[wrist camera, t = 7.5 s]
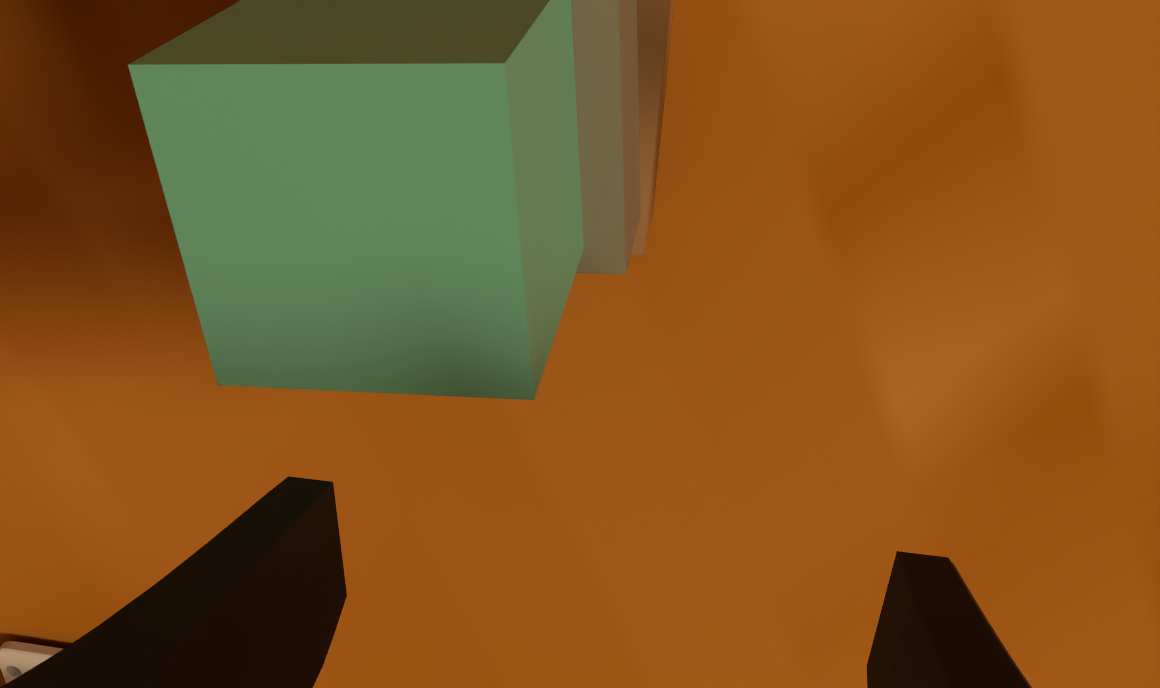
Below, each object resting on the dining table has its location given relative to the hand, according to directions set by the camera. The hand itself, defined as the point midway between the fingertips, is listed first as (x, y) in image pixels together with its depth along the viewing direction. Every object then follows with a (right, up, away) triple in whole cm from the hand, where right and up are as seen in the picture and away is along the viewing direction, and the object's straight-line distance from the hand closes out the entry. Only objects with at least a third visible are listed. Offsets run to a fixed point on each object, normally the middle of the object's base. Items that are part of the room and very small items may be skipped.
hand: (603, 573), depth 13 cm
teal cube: (-3, +7, +3) cm, 8 cm away
